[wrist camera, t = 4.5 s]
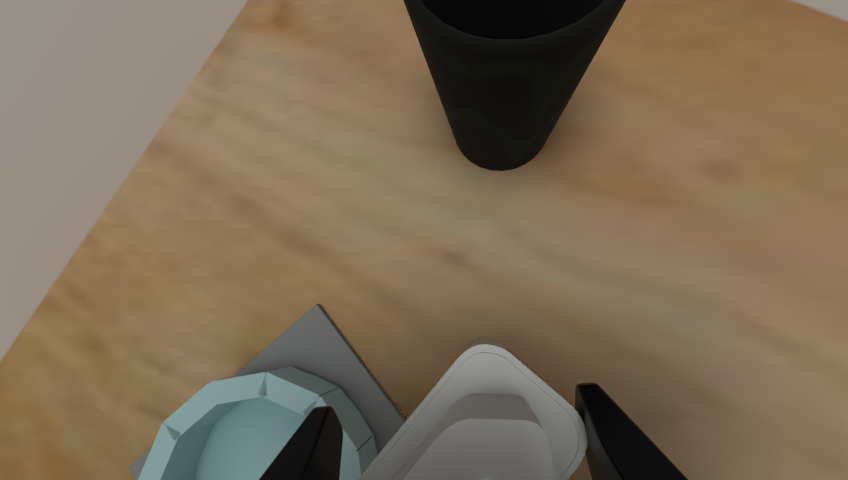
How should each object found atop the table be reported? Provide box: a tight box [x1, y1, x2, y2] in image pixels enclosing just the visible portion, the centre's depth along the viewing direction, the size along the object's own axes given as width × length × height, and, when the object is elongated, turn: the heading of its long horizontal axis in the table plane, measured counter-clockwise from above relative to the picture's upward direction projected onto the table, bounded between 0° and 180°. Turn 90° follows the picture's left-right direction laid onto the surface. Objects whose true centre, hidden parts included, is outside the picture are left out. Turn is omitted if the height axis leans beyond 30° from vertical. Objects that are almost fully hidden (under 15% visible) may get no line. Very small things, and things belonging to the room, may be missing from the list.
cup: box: [404, 0, 626, 171], centre depth 18 cm, size 8×8×12 cm
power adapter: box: [358, 337, 588, 480], centre depth 9 cm, size 3×5×12 cm, turn 139°
